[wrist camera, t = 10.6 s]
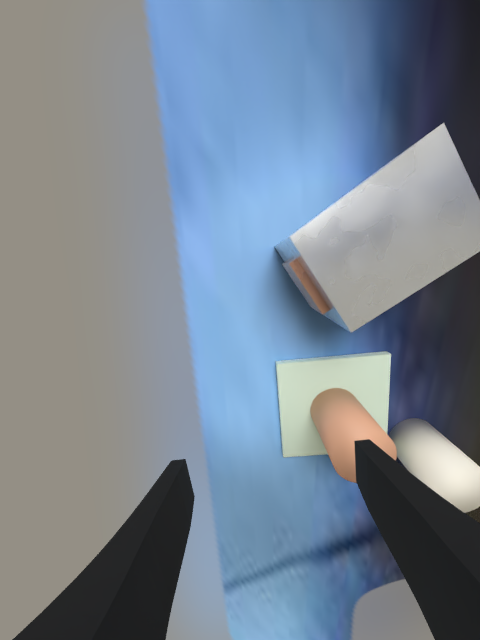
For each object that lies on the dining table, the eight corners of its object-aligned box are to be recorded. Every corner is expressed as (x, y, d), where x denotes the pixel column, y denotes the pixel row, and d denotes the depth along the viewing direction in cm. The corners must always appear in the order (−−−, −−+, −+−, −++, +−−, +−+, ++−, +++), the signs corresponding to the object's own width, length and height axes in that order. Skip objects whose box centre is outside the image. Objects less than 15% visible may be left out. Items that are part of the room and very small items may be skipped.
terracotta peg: (362, 390, 19) (403, 432, 14) (353, 432, 20) (388, 485, 15) (314, 385, 19) (338, 427, 14) (306, 428, 20) (327, 480, 15)
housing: (376, 171, 16) (452, 116, 10) (416, 245, 17) (506, 234, 11) (268, 250, 17) (280, 243, 11) (311, 314, 18) (342, 337, 12)
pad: (386, 351, 19) (390, 354, 18) (382, 444, 21) (386, 450, 20) (275, 361, 19) (276, 364, 19) (282, 452, 21) (283, 457, 21)
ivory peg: (435, 416, 20) (496, 464, 15) (432, 454, 21) (488, 511, 16) (388, 420, 20) (434, 468, 15) (387, 458, 21) (429, 515, 16)
